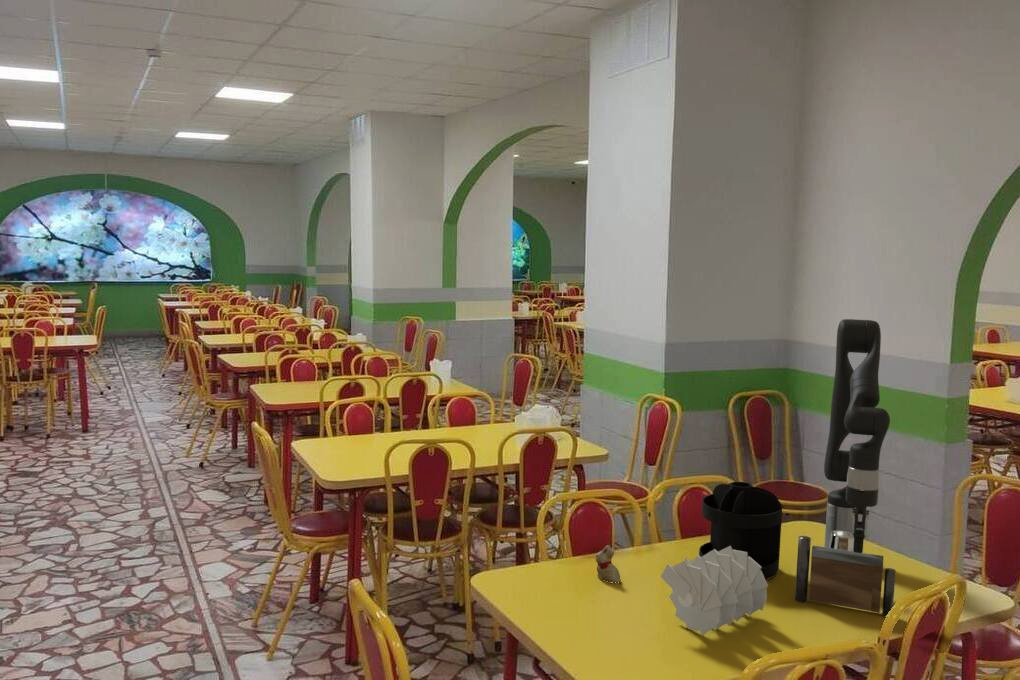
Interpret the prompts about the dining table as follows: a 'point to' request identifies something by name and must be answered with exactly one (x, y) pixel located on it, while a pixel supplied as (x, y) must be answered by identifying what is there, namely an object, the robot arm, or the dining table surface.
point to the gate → (846, 578)
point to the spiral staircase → (716, 588)
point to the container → (745, 523)
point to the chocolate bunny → (607, 566)
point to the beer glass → (841, 540)
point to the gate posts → (804, 573)
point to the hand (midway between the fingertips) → (858, 547)
